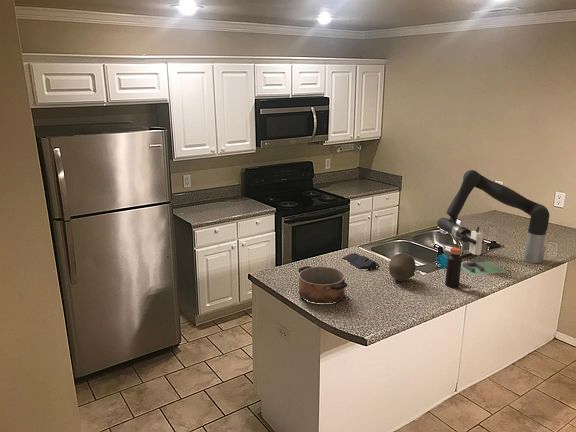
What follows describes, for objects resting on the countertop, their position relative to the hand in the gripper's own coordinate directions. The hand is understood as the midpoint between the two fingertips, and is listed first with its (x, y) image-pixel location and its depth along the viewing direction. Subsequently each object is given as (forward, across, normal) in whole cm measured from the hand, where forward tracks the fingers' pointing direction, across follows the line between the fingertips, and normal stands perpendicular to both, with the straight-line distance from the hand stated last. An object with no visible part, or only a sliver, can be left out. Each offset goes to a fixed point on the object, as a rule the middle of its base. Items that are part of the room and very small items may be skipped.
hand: (479, 242), depth 246 cm
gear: (-9, -13, +18) cm, 24 cm away
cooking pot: (+9, -91, +18) cm, 93 cm away
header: (-4, 0, +16) cm, 17 cm away
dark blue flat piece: (-27, -58, +19) cm, 66 cm away
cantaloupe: (+1, -45, +18) cm, 48 cm away
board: (-3, +5, +18) cm, 19 cm away
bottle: (+12, -22, +18) cm, 31 cm away
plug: (-3, 0, +7) cm, 8 cm away
